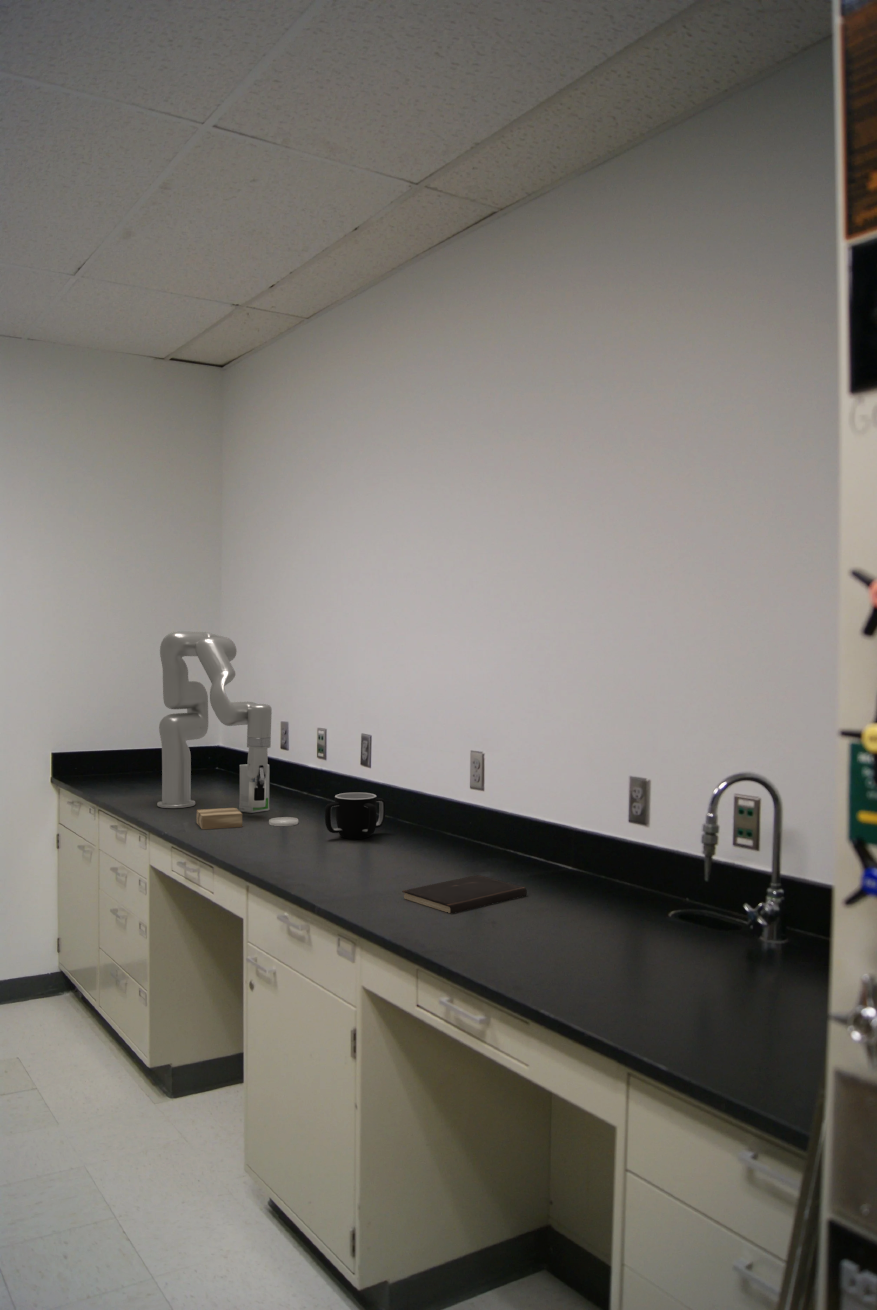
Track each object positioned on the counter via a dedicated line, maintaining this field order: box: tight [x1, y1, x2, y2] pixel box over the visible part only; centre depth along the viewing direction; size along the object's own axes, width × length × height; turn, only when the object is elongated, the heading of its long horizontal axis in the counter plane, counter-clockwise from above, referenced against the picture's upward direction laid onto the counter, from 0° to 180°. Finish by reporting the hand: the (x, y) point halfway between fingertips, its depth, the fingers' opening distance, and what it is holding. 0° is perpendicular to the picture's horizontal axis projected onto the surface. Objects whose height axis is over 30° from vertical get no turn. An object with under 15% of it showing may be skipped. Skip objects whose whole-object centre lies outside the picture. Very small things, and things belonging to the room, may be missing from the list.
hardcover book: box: [401, 874, 528, 915], centre depth 216 cm, size 16×23×2 cm
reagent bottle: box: [248, 777, 266, 808], centre depth 312 cm, size 5×5×9 cm
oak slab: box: [196, 807, 243, 830], centre depth 299 cm, size 12×12×4 cm
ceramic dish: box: [268, 816, 299, 827], centre depth 302 cm, size 9×9×1 cm
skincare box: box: [238, 763, 270, 814], centre depth 324 cm, size 8×7×16 cm
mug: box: [324, 792, 386, 840], centre depth 282 cm, size 16×16×12 cm
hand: (257, 798), depth 313 cm, fingers closed on reagent bottle, 5 cm apart
